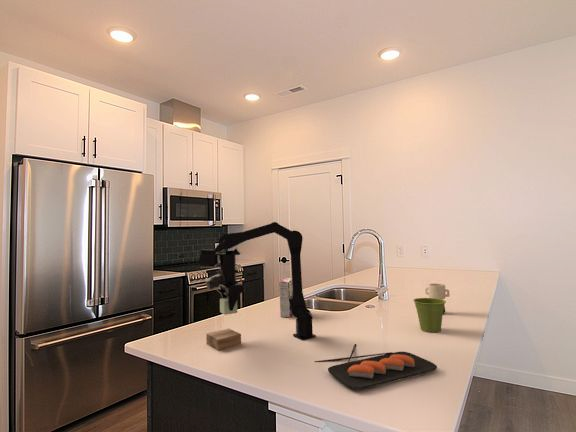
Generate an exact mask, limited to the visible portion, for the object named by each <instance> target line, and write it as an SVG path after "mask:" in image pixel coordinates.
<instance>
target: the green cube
mask: <svg viewBox="0 0 576 432" xmlns="http://www.w3.org/2000/svg"><path fill="white" fill-rule="evenodd" d="M219 313H221V314H222V315H224V316H225V315H232V314H237V313H238V300H237V301H236V304H235V306H234V308H233V310H232V311H230V310H229V304H228V298H222V297H221V298H219Z"/></svg>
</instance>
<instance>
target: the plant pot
mask: <svg viewBox="0 0 576 432" xmlns="http://www.w3.org/2000/svg"><path fill="white" fill-rule="evenodd" d="M412 301H413V302H414V304H415V305H414V306H415V308H416V313H417V318H418V322H419V326H420V327H419V328H420V330H421V331H424V332H427V333H428V332H431V333H432V332H433V333H438V332H441V330H442V326H443V316H444V312H443V309H444V306H445V304H446V303H447V301H446V300H445V299H442V300H441V299H435V298H429V297H418V298H413V300H412Z"/></svg>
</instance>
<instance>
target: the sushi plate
mask: <svg viewBox="0 0 576 432" xmlns="http://www.w3.org/2000/svg"><path fill="white" fill-rule="evenodd" d="M356 347H357V343H354V345H353V348H352V350H351V354H350V356H347V357H340V358H339V357H338V358H331V359H322V360H315V361H314V363H324V362H325V363H326V362H327V363H328V362H337V361H345V360H348V361H347V362H343V363H340V364H335V365H332V366H329V367H328V368H327V371H328V372H329V374H330V375H331V376H333V377H334V378H335V379H337V380H338V381H339V382H341V383H342V384H343V385H345V386H347V387H348V388H351V389H353V390H362V389H367V388H372V387H375V386H380V385H383V384H387V383H391V382H394V381H398V380H399V381H400V380H403V379H407V378H410V377H414V376H418V375H421V374H426V373H430V372H433V371H435V370H437V368H438V366H437V365H436V364H435V363H434V362H432V361H430V360H427V359H425V358H423V357H420V356H418V355H416V354H413V353H411V352H408V351H394V352H393V351H391V352H382V353H381V352H380V353H374V354H365V355H357V356H356V355H355V356H353V354H354V352H355V350H356ZM359 358H362V359H359ZM353 359H357V360H354V361H351V360H353Z"/></svg>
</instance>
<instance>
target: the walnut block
mask: <svg viewBox="0 0 576 432" xmlns="http://www.w3.org/2000/svg"><path fill="white" fill-rule="evenodd" d="M205 337H206V340H205V341H206V345H207V346H209V347H211V348H213V349H214V350H216V351H221V350H226V349H229V348H233V347H236V346H240V345H242V334H241V333H240V332H238V331H235V330H234V329H232V328H231V329H230V328H224V329H221V330H216V331H213V332H211V331H210V332H207V333H206V336H205Z"/></svg>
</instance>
